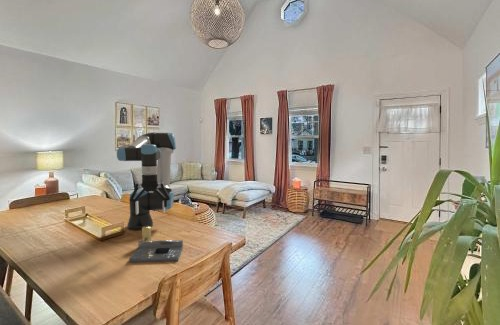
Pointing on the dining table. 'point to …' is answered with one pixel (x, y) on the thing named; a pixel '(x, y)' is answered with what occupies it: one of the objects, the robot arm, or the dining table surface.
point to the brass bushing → (146, 233)
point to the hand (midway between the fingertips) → (150, 213)
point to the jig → (157, 251)
